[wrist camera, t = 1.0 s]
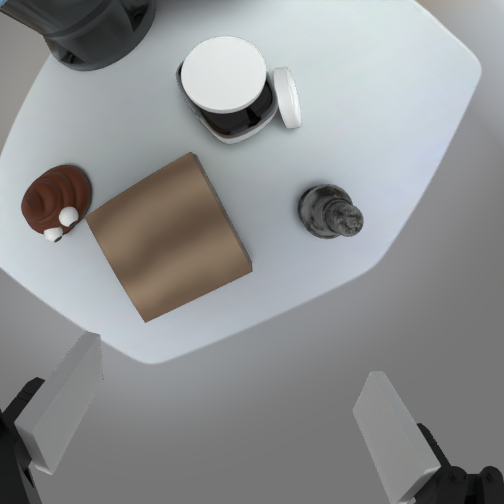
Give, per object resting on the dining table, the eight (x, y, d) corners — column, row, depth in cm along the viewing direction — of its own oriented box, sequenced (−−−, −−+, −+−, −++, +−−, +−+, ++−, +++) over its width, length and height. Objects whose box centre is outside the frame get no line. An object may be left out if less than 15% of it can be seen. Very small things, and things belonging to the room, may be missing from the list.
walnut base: (99, 213, 35) (84, 217, 31) (196, 154, 34) (190, 152, 30) (153, 309, 38) (145, 322, 34) (251, 261, 37) (252, 271, 33)
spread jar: (177, 90, 32) (151, 56, 21) (257, 41, 31) (264, -8, 20) (235, 170, 35) (232, 166, 23) (316, 118, 33) (348, 94, 22)
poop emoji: (73, 151, 33) (31, 147, 24) (107, 202, 35) (69, 212, 26) (28, 200, 34) (-15, 208, 25) (59, 249, 36) (18, 268, 27)
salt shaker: (318, 243, 37) (351, 273, 25) (285, 207, 36) (305, 222, 24) (353, 209, 36) (399, 225, 24) (321, 173, 35) (357, 172, 23)
